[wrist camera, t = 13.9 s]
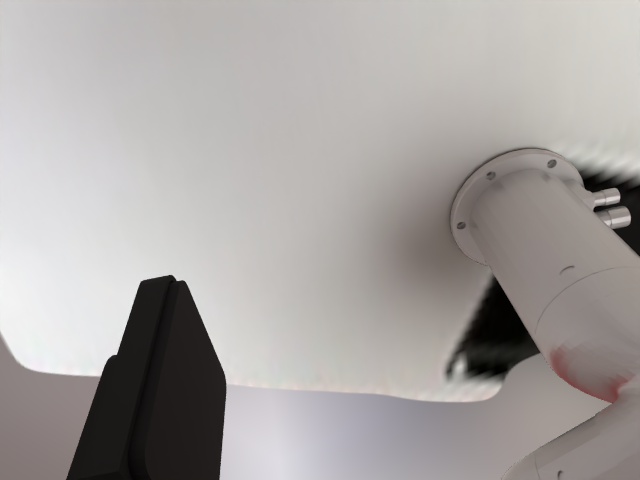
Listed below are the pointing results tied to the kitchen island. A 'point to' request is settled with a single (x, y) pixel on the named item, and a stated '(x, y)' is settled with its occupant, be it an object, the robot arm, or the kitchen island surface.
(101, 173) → the kitchen island surface
